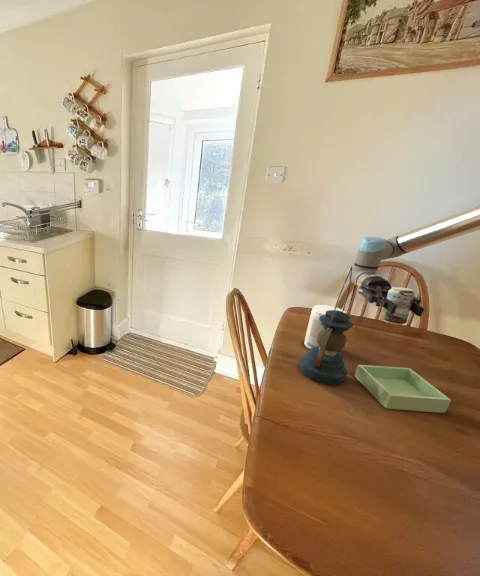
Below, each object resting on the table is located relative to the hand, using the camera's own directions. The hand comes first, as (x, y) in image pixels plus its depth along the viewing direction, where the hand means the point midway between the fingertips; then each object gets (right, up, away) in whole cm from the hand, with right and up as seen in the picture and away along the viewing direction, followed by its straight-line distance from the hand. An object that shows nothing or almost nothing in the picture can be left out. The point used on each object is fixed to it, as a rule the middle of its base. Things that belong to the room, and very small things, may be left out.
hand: (407, 311), depth 96 cm
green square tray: (-12, -23, -8) cm, 27 cm away
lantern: (-27, -20, 0) cm, 33 cm away
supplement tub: (-17, -14, +14) cm, 26 cm away
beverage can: (+2, -4, +7) cm, 8 cm away
